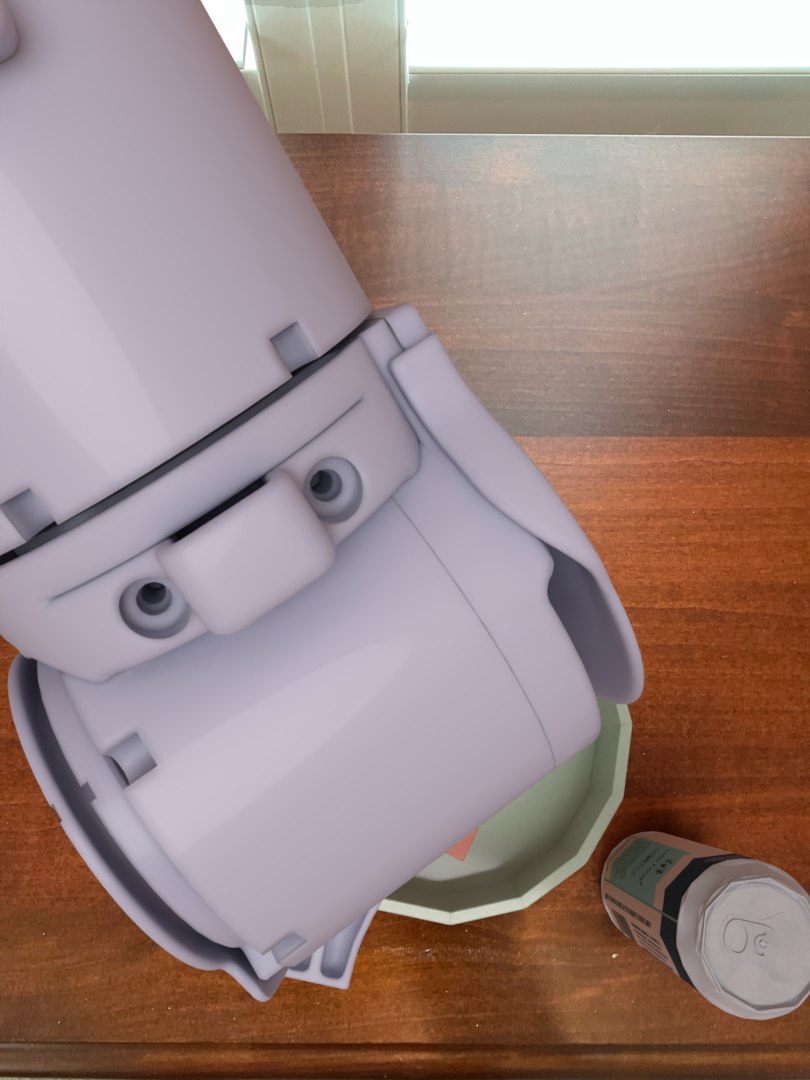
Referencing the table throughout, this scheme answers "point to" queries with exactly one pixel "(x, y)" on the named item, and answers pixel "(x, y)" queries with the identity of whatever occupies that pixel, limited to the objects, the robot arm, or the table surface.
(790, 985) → the beer can
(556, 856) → the dish
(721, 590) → the table surface
